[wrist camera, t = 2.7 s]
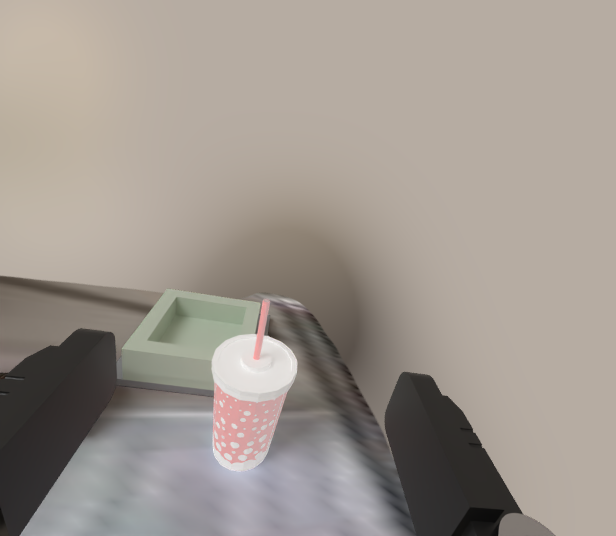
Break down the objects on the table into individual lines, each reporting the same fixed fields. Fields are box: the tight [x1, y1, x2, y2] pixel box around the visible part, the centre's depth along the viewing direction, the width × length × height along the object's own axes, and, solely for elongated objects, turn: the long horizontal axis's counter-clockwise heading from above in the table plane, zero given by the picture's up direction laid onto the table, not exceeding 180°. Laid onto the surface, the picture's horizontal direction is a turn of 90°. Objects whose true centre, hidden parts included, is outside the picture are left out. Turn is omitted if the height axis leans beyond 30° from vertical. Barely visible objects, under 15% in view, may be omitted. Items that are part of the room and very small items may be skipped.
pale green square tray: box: [116, 289, 270, 397], centre depth 35 cm, size 14×14×4 cm
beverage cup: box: [211, 299, 297, 472], centre depth 24 cm, size 6×6×14 cm
